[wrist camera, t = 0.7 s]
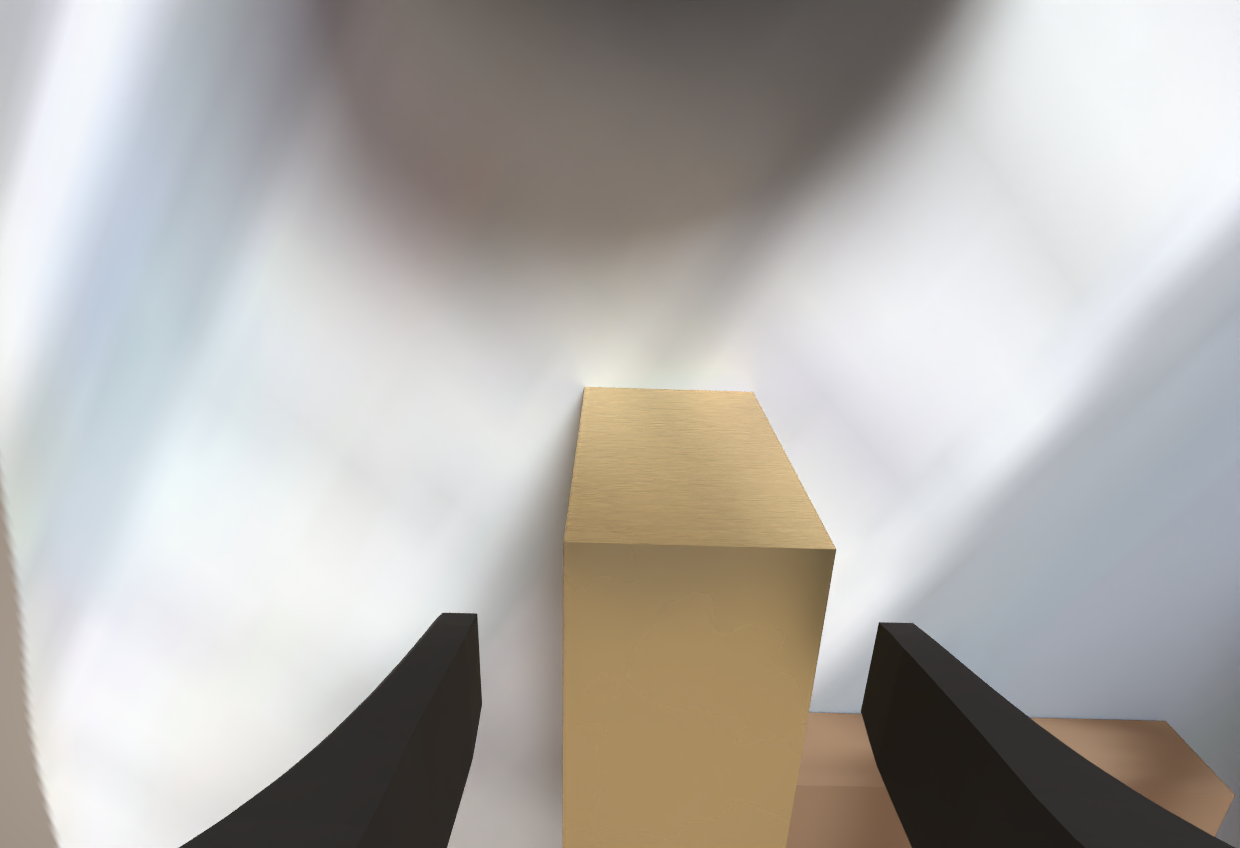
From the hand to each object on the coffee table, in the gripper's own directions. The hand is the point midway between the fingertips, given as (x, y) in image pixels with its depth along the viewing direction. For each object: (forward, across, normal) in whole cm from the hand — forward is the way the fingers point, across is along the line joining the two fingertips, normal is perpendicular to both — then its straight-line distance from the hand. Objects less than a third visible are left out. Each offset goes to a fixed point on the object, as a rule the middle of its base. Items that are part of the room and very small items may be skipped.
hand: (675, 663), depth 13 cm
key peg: (+6, 0, 0) cm, 6 cm away
